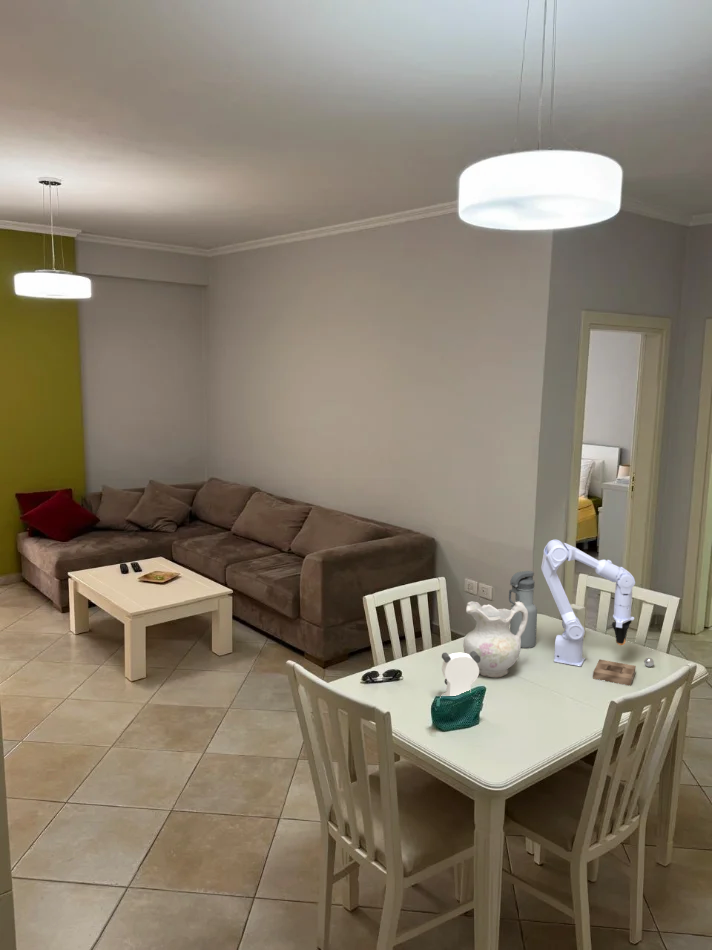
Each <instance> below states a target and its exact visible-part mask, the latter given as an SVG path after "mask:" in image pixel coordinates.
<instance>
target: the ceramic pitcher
mask: <svg viewBox="0 0 712 950" xmlns="http://www.w3.org/2000/svg"><path fill="white" fill-rule="evenodd" d="M465 612H466V614H468V615H470V616H472V618H473V619H474V621H475V628H474V629H472V630H471V631H469V632H467V633H466V635H465V637H464V638H463V647H462V648H463V651H464V652H463V653H467V654H469V655H470V653H471V652H472V651H475V652H476V653H477V654H478V655H479V656H480V659H481V660H480V662H479V663H477V665H478V667H479V675H481V676H483V677H489V678H496V679H499V678H501V677H503V676H506V675H508V674H509V673H510V671H509V670H508V669H509V668H511V667H513V666H514V664H515V663H516V662H517V660H518V659H519V656H520V653H521V648H520V647H521V635H522V634H523V632H524V631H525V627H526V625H527V621H528V611H527V609H526V608H525V606H524V603H522V601H521V602H520V601H517V602H514V607H513V608H512V609H511V608H510V609H507V608H498V609H497V608H496V607H495V606H493V605H492V604H483V605H481V604H480V603H479V602H477V601H468V602H467V603H466V609H465ZM519 612H521V614H522V622H521V624H520V626H519V629H518V632H517V634H516V635H514V634H512V633H511V632H510V622H511V620H512V617H513V616H514V615H515V614H517V613H519Z"/></svg>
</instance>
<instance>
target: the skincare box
mask: <svg viewBox="0 0 712 950" xmlns="http://www.w3.org/2000/svg"><path fill="white" fill-rule="evenodd" d="M570 605H571V608H572V610H573V612H574V614H575V616H576V617H577V618H578V619H579V621H580V623H581V625H582V626H583V628H584V631H585V633H586V606H583V605H582V606H581V605H578V604H576V603H570ZM585 633H584V636H583V638H585V637H586V636H585V635H586V634H585Z"/></svg>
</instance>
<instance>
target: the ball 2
mask: <svg viewBox="0 0 712 950" xmlns="http://www.w3.org/2000/svg"><path fill="white" fill-rule="evenodd" d="M643 663H644V665H645V666H646V667H648V668H650V667H653V666H654V665H655V660H654V659H653V658H652V657H649V656H648V657H646V658H645V659H644V660H643Z"/></svg>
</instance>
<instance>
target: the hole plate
mask: <svg viewBox="0 0 712 950" xmlns="http://www.w3.org/2000/svg"><path fill="white" fill-rule="evenodd" d="M636 669H637V666H636V665H633V664H627V663H624V662H623V663H622V662H618V661H617V662H615V661H611V660H605V659H598V662H597V664H596V666H595V668H594V669H593V671H592V679H594V680H597V679H600V680H599V681H602V680H605V681H604V682H608V681H610V683H613V682H614V684H618V683H619V684H620V685H623V684H625V686H629V685H632V683H633V681H634V678H635V675H636V671H637V670H636Z"/></svg>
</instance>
